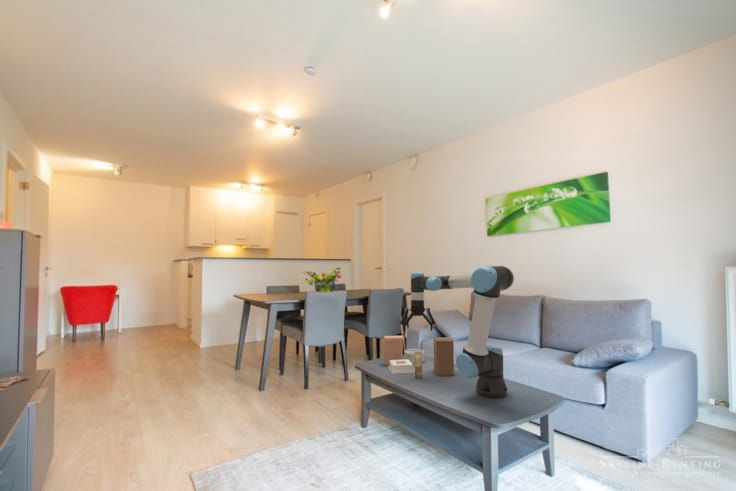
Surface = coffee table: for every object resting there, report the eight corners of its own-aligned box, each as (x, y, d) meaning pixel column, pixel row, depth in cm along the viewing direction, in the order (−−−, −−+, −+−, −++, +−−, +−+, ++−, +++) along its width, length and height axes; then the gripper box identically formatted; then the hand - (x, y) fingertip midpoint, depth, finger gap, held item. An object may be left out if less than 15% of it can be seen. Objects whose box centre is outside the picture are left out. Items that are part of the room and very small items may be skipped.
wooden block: (454, 375, 207) (453, 340, 208) (436, 375, 207) (436, 340, 208) (450, 370, 217) (450, 337, 218) (433, 370, 217) (433, 337, 218)
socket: (415, 373, 211) (415, 365, 211) (391, 374, 209) (391, 366, 209) (409, 366, 225) (409, 358, 225) (387, 367, 223) (387, 359, 223)
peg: (422, 378, 202) (422, 353, 203) (415, 378, 202) (415, 353, 202) (420, 376, 206) (420, 351, 207) (414, 376, 206) (413, 351, 206)
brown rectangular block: (404, 366, 225) (404, 337, 226) (385, 367, 224) (385, 338, 225) (402, 363, 232) (401, 335, 233) (383, 364, 231) (383, 336, 232)
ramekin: (400, 360, 240) (400, 350, 240) (417, 358, 245) (417, 348, 245) (411, 365, 228) (411, 354, 228) (428, 363, 233) (428, 352, 233)
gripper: (436, 298, 211) (436, 334, 210) (394, 299, 208) (394, 336, 207) (440, 299, 204) (440, 337, 203) (397, 300, 201) (397, 338, 200)
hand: (417, 336), depth 205 cm, fingers open, 13 cm apart
